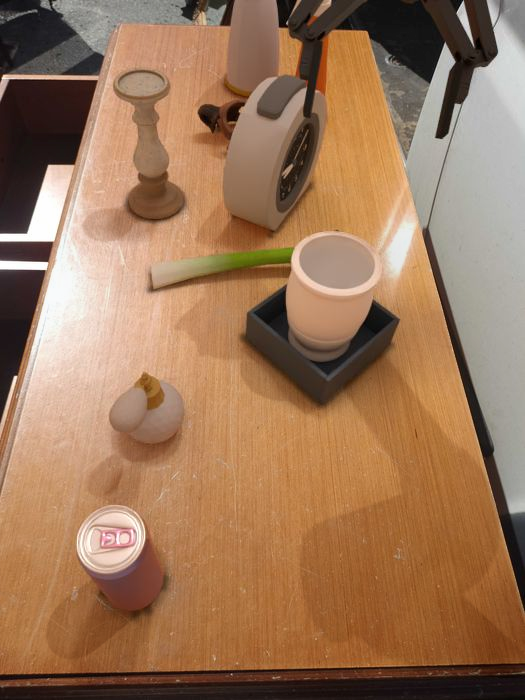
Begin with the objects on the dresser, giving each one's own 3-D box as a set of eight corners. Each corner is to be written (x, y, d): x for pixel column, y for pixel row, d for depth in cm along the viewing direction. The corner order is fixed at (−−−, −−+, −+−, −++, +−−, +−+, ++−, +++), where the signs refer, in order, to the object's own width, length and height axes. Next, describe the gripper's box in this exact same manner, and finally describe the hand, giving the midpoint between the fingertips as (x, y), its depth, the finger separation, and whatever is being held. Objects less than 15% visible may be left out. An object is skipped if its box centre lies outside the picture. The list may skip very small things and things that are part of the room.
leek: (153, 271, 85) (345, 242, 87) (157, 310, 82) (356, 279, 84) (145, 246, 79) (350, 217, 82) (150, 287, 76) (362, 255, 79)
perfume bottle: (186, 396, 71) (179, 341, 61) (186, 469, 65) (179, 420, 55) (126, 399, 70) (109, 343, 60) (121, 472, 64) (102, 424, 54)
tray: (390, 344, 77) (400, 319, 73) (321, 404, 71) (328, 381, 66) (315, 286, 82) (320, 259, 78) (245, 337, 76) (246, 312, 72)
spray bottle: (265, 121, 106) (275, -37, 84) (305, 102, 110) (325, -53, 89) (291, 139, 103) (308, -20, 82) (331, 118, 108) (358, -37, 86)
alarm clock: (263, 246, 87) (272, 133, 70) (221, 229, 88) (221, 114, 72) (318, 171, 98) (337, 59, 82) (280, 158, 100) (291, 45, 83)
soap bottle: (285, 73, 116) (298, -78, 95) (273, 103, 110) (285, -52, 88) (232, 64, 117) (234, -88, 96) (217, 93, 110) (216, -63, 89)
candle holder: (124, 188, 93) (103, 68, 76) (176, 180, 94) (166, 61, 78) (134, 224, 88) (113, 103, 71) (189, 214, 90) (181, 95, 73)
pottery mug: (260, 124, 106) (271, 101, 98) (250, 170, 104) (262, 150, 97) (198, 104, 103) (205, 79, 95) (188, 151, 102) (194, 129, 94)
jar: (346, 305, 80) (368, 226, 68) (366, 365, 74) (394, 290, 62) (273, 312, 78) (283, 233, 66) (288, 374, 73) (301, 299, 60)
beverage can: (163, 610, 56) (146, 573, 44) (102, 614, 56) (68, 578, 43) (164, 549, 60) (149, 500, 47) (108, 552, 59) (77, 503, 47)
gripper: (538, -69, 55) (487, 152, 59) (290, -103, 57) (255, 115, 60) (573, -120, 48) (512, 136, 51) (287, -157, 49) (247, 94, 53)
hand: (373, 125), depth 56 cm, fingers open, 13 cm apart
